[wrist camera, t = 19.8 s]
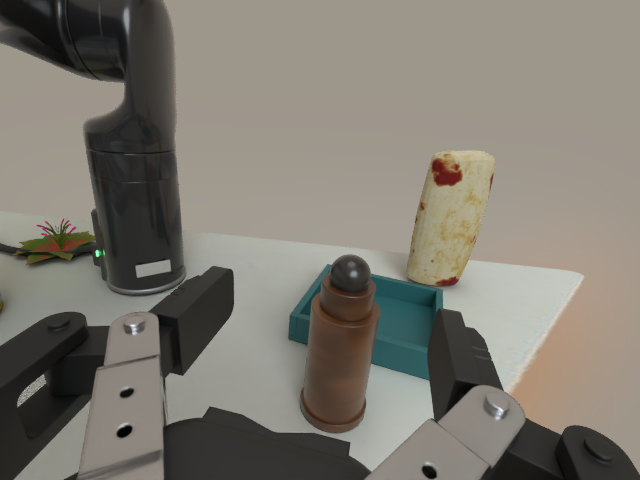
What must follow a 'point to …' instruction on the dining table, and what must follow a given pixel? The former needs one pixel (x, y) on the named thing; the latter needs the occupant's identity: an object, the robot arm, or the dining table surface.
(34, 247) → the lily flower
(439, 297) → the tray
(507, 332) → the dining table surface
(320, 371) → the pepper mill
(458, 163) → the food model
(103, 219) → the robot arm
